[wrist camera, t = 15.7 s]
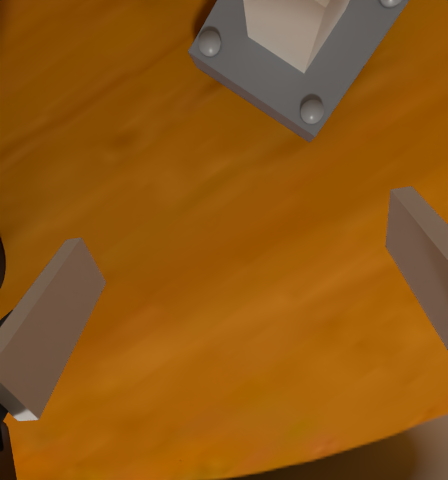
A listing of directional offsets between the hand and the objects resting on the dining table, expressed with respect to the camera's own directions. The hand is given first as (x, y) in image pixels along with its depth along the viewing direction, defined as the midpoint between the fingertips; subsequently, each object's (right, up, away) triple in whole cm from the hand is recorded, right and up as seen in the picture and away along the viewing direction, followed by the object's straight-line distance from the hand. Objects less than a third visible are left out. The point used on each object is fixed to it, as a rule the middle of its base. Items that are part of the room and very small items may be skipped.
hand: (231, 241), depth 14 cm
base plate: (+7, +20, +18) cm, 28 cm away
